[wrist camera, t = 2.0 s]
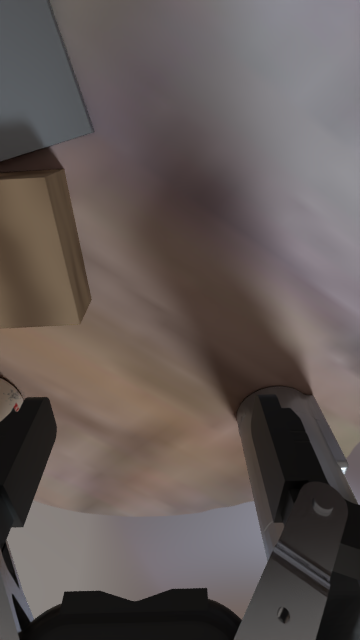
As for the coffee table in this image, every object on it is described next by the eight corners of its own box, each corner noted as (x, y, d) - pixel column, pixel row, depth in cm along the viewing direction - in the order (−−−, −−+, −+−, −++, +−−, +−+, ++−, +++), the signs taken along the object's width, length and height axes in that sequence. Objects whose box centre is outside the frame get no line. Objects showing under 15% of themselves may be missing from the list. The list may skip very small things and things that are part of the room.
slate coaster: (40, -26, 21) (35, -31, 20) (94, 132, 25) (92, 132, 25) (-84, 21, 22) (-92, 18, 21) (-10, 165, 26) (-15, 166, 26)
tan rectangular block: (64, 168, 27) (44, 177, 23) (92, 298, 33) (80, 324, 29) (-32, 173, 27) (-71, 183, 23) (13, 302, 33) (-11, 329, 29)
